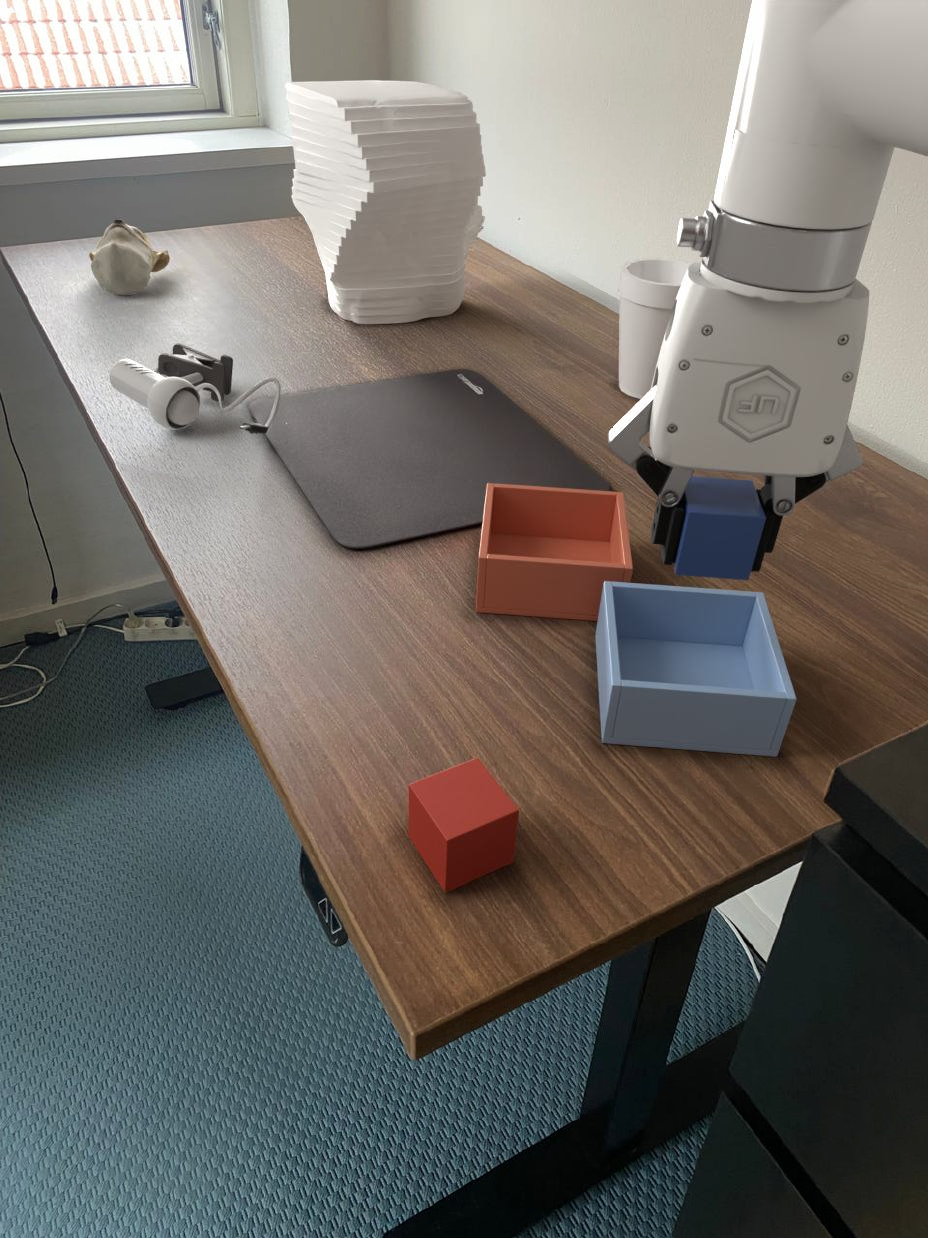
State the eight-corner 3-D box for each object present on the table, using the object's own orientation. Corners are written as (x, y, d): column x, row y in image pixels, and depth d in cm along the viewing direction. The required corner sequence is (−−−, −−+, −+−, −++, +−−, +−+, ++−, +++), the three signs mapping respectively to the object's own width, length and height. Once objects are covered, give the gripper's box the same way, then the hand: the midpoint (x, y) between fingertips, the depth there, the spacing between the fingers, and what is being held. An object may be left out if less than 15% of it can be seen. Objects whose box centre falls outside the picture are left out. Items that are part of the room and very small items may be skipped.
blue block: (736, 541, 59) (753, 480, 56) (748, 580, 55) (766, 517, 53) (667, 535, 59) (680, 474, 56) (674, 575, 55) (688, 511, 53)
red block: (474, 808, 55) (477, 756, 52) (513, 862, 52) (519, 809, 49) (408, 836, 53) (408, 784, 50) (445, 893, 50) (447, 840, 47)
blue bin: (747, 647, 68) (763, 592, 65) (777, 757, 59) (797, 699, 56) (595, 635, 68) (603, 580, 65) (601, 743, 60) (612, 685, 56)
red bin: (615, 543, 79) (623, 491, 76) (623, 623, 70) (633, 568, 67) (484, 534, 79) (487, 482, 76) (475, 612, 70) (478, 557, 67)
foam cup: (652, 413, 100) (673, 291, 92) (588, 385, 105) (603, 268, 97) (705, 391, 105) (729, 274, 97) (641, 365, 110) (659, 253, 102)
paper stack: (291, 291, 127) (274, 76, 111) (476, 278, 134) (485, 74, 119) (323, 347, 111) (309, 105, 96) (530, 329, 119) (549, 102, 103)
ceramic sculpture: (66, 230, 115) (86, 207, 127) (79, 301, 120) (98, 272, 132) (154, 230, 117) (166, 207, 129) (164, 300, 122) (175, 272, 134)
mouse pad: (619, 493, 85) (620, 491, 85) (342, 554, 75) (342, 552, 75) (471, 367, 108) (471, 366, 107) (243, 402, 98) (242, 400, 98)
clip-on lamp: (307, 440, 96) (182, 372, 102) (314, 384, 93) (184, 317, 98) (226, 475, 88) (94, 399, 93) (230, 415, 84) (93, 339, 90)
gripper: (616, 260, 43) (571, 580, 54) (982, 284, 43) (861, 602, 54) (608, 218, 49) (569, 514, 60) (929, 239, 49) (830, 534, 60)
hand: (708, 553), depth 57 cm, fingers closed on blue block, 4 cm apart
